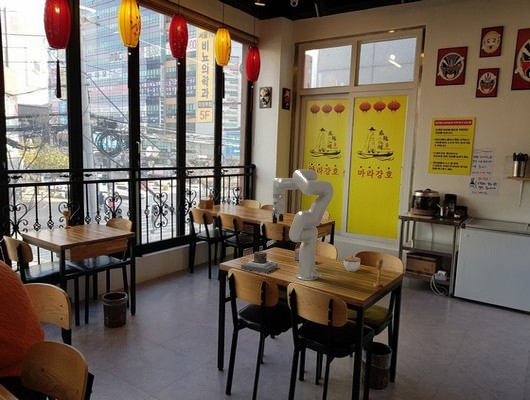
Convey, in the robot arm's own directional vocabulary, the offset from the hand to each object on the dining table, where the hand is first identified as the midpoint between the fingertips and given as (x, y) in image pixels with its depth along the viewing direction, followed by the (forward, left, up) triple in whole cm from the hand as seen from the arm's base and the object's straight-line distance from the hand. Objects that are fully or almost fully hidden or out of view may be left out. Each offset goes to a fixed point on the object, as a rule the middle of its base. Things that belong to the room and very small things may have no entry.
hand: (277, 222), depth 266 cm
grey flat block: (+5, +15, -28) cm, 32 cm away
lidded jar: (-47, -13, -28) cm, 56 cm away
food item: (-13, -17, -29) cm, 36 cm away
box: (+5, +15, -26) cm, 30 cm away
